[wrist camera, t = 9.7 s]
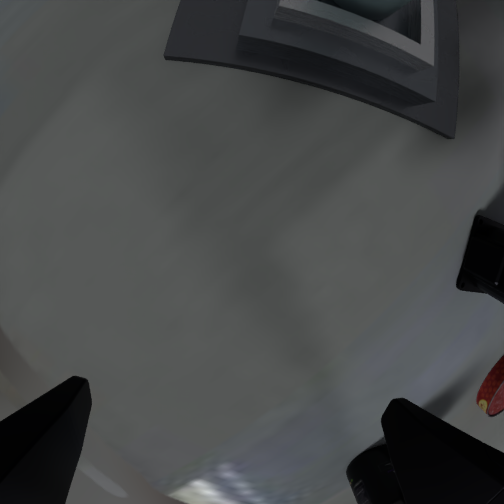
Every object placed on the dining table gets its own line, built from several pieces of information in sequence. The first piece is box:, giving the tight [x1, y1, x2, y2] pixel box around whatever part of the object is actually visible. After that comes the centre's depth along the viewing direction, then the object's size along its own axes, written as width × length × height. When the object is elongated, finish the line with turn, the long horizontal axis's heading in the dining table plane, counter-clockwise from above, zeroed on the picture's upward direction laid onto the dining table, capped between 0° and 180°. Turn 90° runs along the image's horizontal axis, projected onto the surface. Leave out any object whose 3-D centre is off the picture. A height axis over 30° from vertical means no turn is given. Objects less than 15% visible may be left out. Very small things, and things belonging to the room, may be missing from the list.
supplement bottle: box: [346, 445, 406, 504], centre depth 22 cm, size 7×7×12 cm
